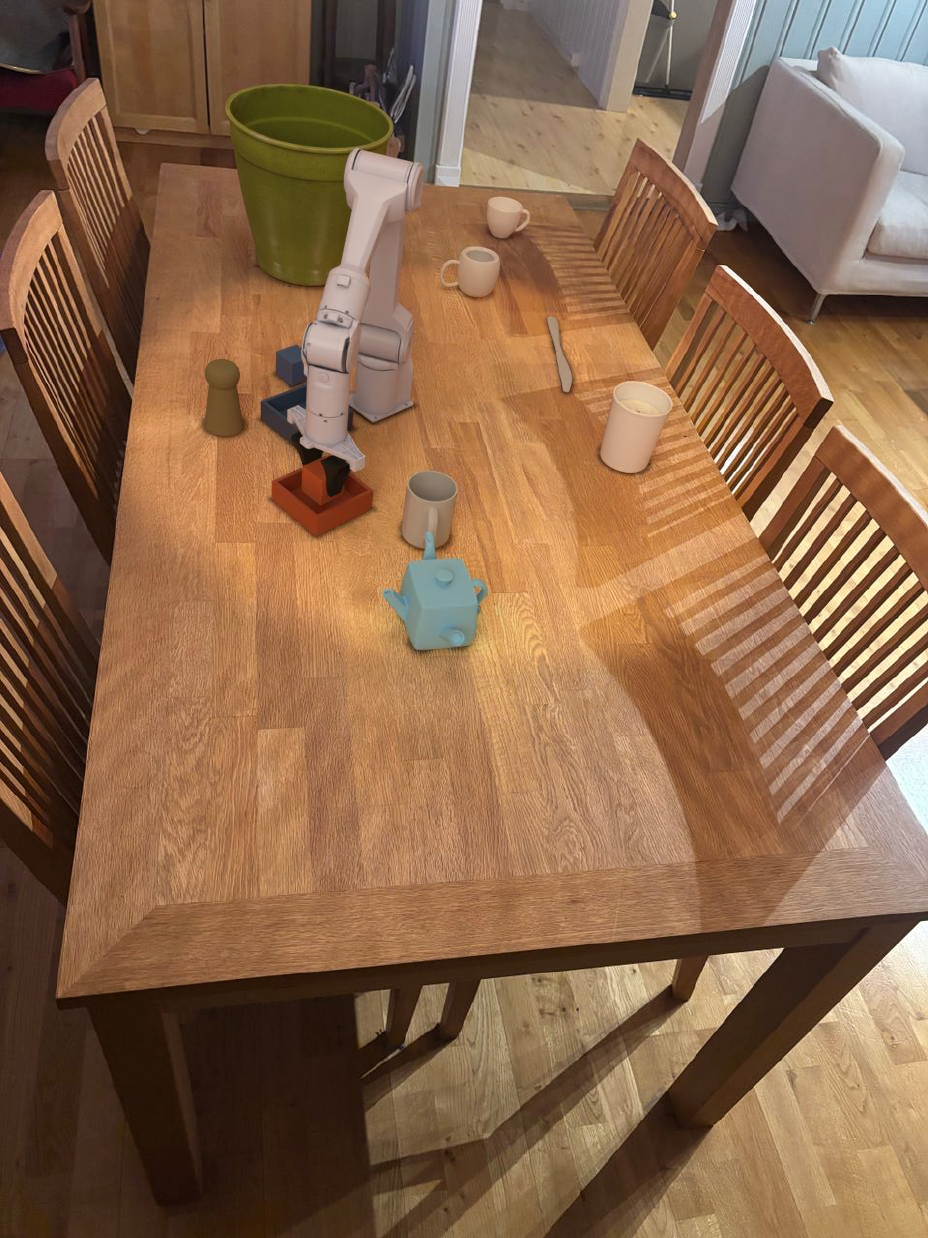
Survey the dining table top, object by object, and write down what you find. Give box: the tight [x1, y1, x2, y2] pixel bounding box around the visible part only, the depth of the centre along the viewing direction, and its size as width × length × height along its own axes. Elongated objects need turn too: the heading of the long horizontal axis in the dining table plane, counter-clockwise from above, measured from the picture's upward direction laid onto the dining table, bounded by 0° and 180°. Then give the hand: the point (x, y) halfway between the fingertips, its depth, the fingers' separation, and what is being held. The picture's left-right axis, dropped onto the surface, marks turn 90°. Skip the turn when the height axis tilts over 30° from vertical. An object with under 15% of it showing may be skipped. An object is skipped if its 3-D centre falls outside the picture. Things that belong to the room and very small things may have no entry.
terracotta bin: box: [271, 455, 374, 537], centre depth 143 cm, size 11×10×4 cm
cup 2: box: [485, 196, 531, 239], centre depth 216 cm, size 8×10×7 cm
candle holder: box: [599, 380, 674, 474], centre depth 160 cm, size 10×10×12 cm
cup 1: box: [400, 469, 459, 550], centre depth 139 cm, size 7×10×9 cm
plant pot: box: [224, 83, 394, 287], centre depth 184 cm, size 30×30×29 cm
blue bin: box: [260, 382, 355, 446], centre depth 156 cm, size 11×10×4 cm
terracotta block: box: [301, 455, 344, 506], centre depth 141 cm, size 4×4×4 cm
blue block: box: [275, 344, 307, 387], centre depth 165 cm, size 4×4×4 cm
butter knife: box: [546, 315, 573, 393], centre depth 184 cm, size 1×27×3 cm
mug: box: [439, 245, 501, 298], centre depth 194 cm, size 12×8×8 cm
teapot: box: [381, 532, 489, 651], centre depth 126 cm, size 18×14×10 cm
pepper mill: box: [203, 358, 244, 437], centre depth 150 cm, size 6×6×11 cm
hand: (323, 484), depth 141 cm, fingers closed on terracotta block, 4 cm apart
